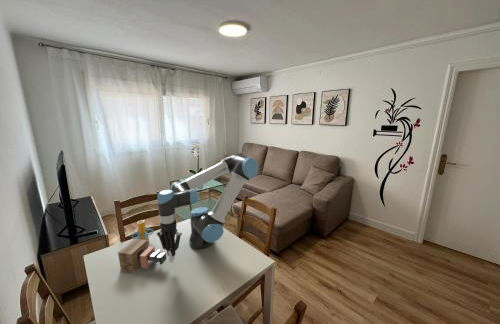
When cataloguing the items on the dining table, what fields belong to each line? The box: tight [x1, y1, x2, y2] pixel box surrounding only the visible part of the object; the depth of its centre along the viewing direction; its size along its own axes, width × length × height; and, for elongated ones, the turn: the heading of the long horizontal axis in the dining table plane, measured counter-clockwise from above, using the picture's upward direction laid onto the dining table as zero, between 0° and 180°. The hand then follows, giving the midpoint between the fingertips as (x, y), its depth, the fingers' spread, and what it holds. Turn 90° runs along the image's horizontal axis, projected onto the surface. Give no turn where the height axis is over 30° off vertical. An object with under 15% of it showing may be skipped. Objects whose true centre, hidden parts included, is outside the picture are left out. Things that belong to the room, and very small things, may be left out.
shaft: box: [137, 249, 167, 266], centre depth 109 cm, size 18×5×5 cm, turn 79°
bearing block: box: [117, 239, 149, 273], centre depth 111 cm, size 8×12×11 cm, turn 169°
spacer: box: [140, 245, 156, 270], centre depth 110 cm, size 3×8×8 cm, turn 169°
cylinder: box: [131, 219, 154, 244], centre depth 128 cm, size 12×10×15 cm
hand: (172, 260), depth 107 cm, fingers closed
